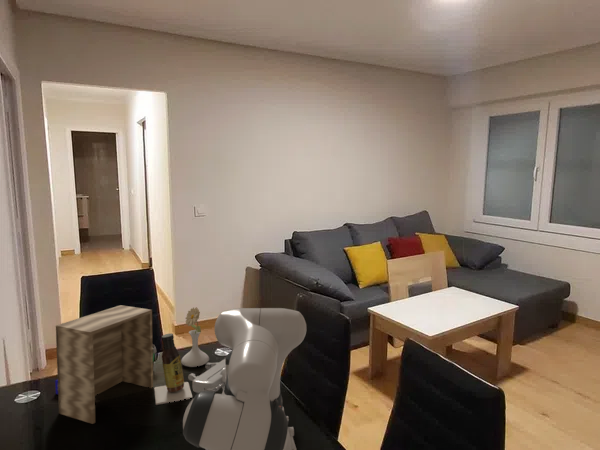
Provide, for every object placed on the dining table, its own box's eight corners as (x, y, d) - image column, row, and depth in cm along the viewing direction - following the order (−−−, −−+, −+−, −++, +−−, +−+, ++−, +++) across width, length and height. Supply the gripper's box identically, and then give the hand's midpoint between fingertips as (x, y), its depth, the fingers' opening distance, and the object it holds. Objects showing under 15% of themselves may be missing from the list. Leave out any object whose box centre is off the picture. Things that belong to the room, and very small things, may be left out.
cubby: (153, 387, 148) (151, 309, 146) (92, 423, 124) (89, 332, 122) (122, 379, 154) (120, 305, 151) (58, 413, 130) (55, 325, 127)
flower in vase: (179, 360, 171) (178, 303, 169) (206, 356, 176) (205, 300, 174) (184, 373, 159) (183, 311, 157) (212, 368, 164) (212, 308, 162)
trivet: (192, 398, 140) (192, 396, 140) (155, 404, 135) (155, 403, 135) (188, 383, 151) (188, 381, 151) (154, 388, 146) (154, 387, 146)
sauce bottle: (181, 392, 141) (171, 338, 139) (164, 393, 142) (154, 340, 140) (187, 383, 148) (178, 331, 146) (171, 384, 148) (162, 333, 146)
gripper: (214, 402, 124) (178, 393, 129) (248, 375, 142) (215, 368, 148) (214, 382, 123) (178, 374, 128) (248, 357, 142) (215, 351, 147)
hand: (198, 370), depth 138 cm, fingers open, 8 cm apart
